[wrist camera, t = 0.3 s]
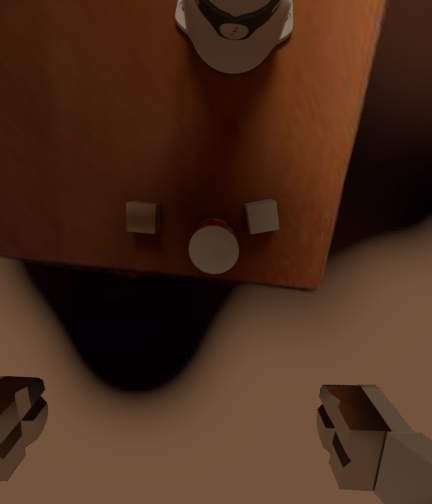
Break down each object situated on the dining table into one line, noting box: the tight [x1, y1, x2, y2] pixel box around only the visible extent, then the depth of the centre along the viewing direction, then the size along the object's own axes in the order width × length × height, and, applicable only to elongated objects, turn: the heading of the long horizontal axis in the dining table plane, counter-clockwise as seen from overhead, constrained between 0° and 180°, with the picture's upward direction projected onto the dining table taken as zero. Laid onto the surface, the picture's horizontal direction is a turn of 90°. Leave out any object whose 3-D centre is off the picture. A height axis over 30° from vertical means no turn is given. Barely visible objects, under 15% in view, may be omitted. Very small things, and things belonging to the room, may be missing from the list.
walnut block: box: [126, 200, 161, 234], centre depth 51 cm, size 5×5×5 cm
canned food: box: [189, 218, 239, 274], centre depth 49 cm, size 8×8×11 cm
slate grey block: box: [244, 199, 280, 234], centre depth 51 cm, size 5×5×5 cm
